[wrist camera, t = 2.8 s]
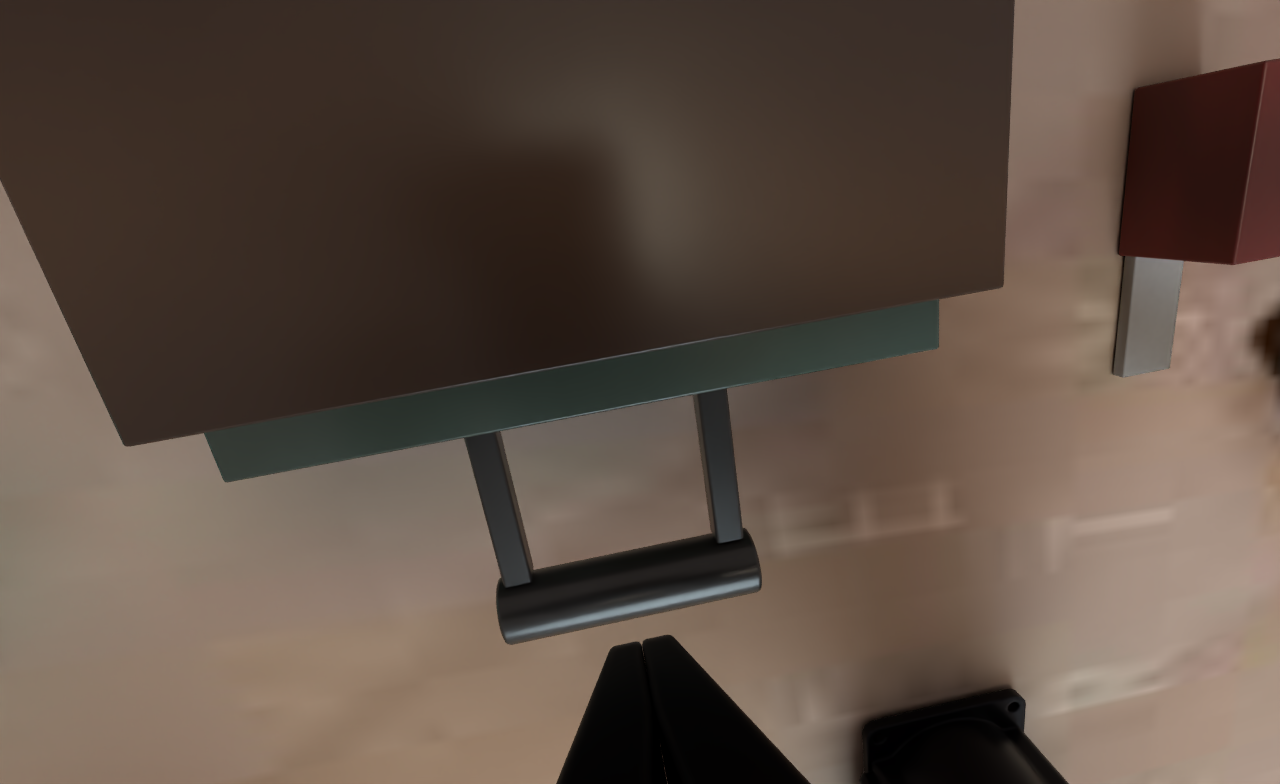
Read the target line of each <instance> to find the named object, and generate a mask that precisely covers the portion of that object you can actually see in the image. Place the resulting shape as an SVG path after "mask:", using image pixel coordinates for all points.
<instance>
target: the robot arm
mask: <svg viewBox="0 0 1280 784" xmlns="http://www.w3.org/2000/svg"><path fill="white" fill-rule="evenodd" d="M642 648H643V650H642ZM643 653H644V655H643ZM644 659H645V660H644ZM646 670H647V671H646ZM1025 707H1026V703H1025V700H1024V699H1023V698H1022V697H1021V696H1020V695H1019V694H1018V693H1017V691H1016V690H1014V689H1005V690H1001V691H996V692H992V693H988V694H984V695H979V696H975V697H971V698H967V699H962V700H958V701H954V702H950V703H945V704H941V705H937V706H932V707H928V708H924V709H920V710H915V711H911V712H907V713H903V714H898V715H894V716H890V717H886V718H881V719H877V720H873V721H871V722H869V723H867V724H866V725H865V726H864V728H863V730H862V743H863V765H864V773H862V775H861V778H860V780H859V784H1069V783H1068V782H1067V781H1066V780H1065V779H1064V778H1063V777H1062V775H1061V774H1060V773H1059V772H1058V771H1057V770H1056V769H1055V768H1054V766H1053V765H1052V764H1051V763H1050V762H1049V761H1048V760H1047V758H1046V757H1045V756H1044V755H1043V754H1042V753H1041V752H1040V750H1039V749H1038V748H1037V747H1036V746H1035V745H1034V744H1033V743H1032V741H1031V740H1030V739H1029V738H1028V737H1027V736H1026V735H1025V733H1024V722H1025ZM661 751H662V752H661ZM662 756H663V757H662ZM663 762H664V763H663ZM664 767H665V768H664ZM665 772H666V773H665ZM666 777H667V779H666ZM667 783H668V784H810V783H809V781H808V780H807V779H806V778H805V777H804V776H803V775H802V774H801V773H800V772H799V771H798V770H797V769H796V768H795V766H794V765H793V764H792V763H791V762H790V761H789V760H788V759H787V758H786V757H785V756H784V755H783V754H782V753H781V752H780V750H779V749H778V748H777V747H776V746H775V745H774V744H773V743H772V742H771V741H770V740H769V739H768V738H767V737H766V735H765V734H764V733H763V732H762V731H761V730H760V729H759V728H758V727H757V726H756V725H755V724H754V723H753V722H752V720H751V719H750V718H749V717H748V716H747V715H746V714H745V713H744V712H743V711H742V710H741V709H740V708H739V707H738V706H737V704H736V703H735V702H734V701H733V700H732V699H731V698H730V697H729V696H728V695H727V694H726V693H725V692H724V691H723V689H722V688H721V687H720V686H719V685H718V684H717V683H716V682H715V681H714V680H713V679H712V678H711V677H710V676H709V674H708V673H707V672H706V671H705V670H704V669H703V668H702V667H701V666H700V665H699V664H698V663H697V662H696V661H695V660H694V658H693V657H692V656H691V655H690V654H689V653H688V652H687V651H686V650H685V649H684V648H683V647H682V646H681V645H680V643H679V642H678V641H677V640H676V639H675V638H674V637H673V636H671V635H664V636H659V637H654V638H650V639H646V640H644V641H643V643H642V645H641V644H640V643H639V642H631V643H627V644H622V645H618V646H614V647H612V648H611V649H610V651H609V653H608V656H607V658H606V661H605V663H604V666H603V668H602V671H601V673H600V676H599V678H598V681H597V683H596V686H595V688H594V691H593V693H592V696H591V698H590V701H589V703H588V706H587V708H586V711H585V713H584V716H583V718H582V721H581V723H580V726H579V728H578V731H577V733H576V736H575V738H574V741H573V743H572V746H571V748H570V751H569V753H568V756H567V758H566V761H565V763H564V766H563V768H562V771H561V773H560V776H559V778H558V781H557V783H556V784H667Z"/></svg>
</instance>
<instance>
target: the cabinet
mask: <svg viewBox="0 0 1280 784" xmlns="http://www.w3.org/2000/svg"><path fill="white" fill-rule="evenodd" d="M1014 4H1015V0H0V180H1V182H2V185H3V187H4V189H5V191H6V193H7V195H8V197H9V200H10V202H11V204H12V206H13V208H14V210H15V212H16V215H17V217H18V219H19V221H20V223H21V225H22V228H23V230H24V232H25V234H26V236H27V238H28V240H29V243H30V245H31V247H32V249H33V251H34V253H35V255H36V258H37V260H38V262H39V264H40V266H41V268H42V270H43V273H44V275H45V277H46V279H47V281H48V283H49V286H50V288H51V290H52V292H53V294H54V296H55V298H56V301H57V303H58V305H59V307H60V309H61V311H62V313H63V316H64V318H65V320H66V322H67V324H68V326H69V329H70V331H71V333H72V335H73V337H74V339H75V341H76V344H77V346H78V348H79V350H80V352H81V354H82V356H83V359H84V361H85V363H86V365H87V367H88V369H89V371H90V374H91V376H92V378H93V380H94V382H95V384H96V387H97V389H98V391H99V393H100V395H101V397H102V399H103V402H104V404H105V406H106V408H107V410H108V412H109V414H110V417H111V419H112V421H113V423H114V425H115V427H116V429H117V432H118V434H119V436H120V438H121V440H122V442H123V444H124V445H125V446H135V445H141V444H146V443H152V442H157V441H163V440H168V439H174V438H179V437H185V436H190V435H196V434H201V433H207V432H212V431H218V430H223V429H229V428H234V427H240V426H245V425H251V424H256V423H262V422H267V421H273V420H278V419H284V418H289V417H295V416H300V415H306V414H311V413H317V412H322V411H328V410H333V409H339V408H344V407H350V406H355V405H361V404H366V403H372V402H377V401H383V400H388V399H394V398H399V397H405V396H410V395H416V394H421V393H427V392H432V391H438V390H443V389H449V388H454V387H460V386H465V385H471V384H476V383H482V382H487V381H493V380H498V379H504V378H509V377H515V376H520V375H526V374H531V373H537V372H542V371H548V370H553V369H559V368H564V367H570V366H575V365H581V364H586V363H592V362H597V361H603V360H608V359H614V358H619V357H625V356H630V355H636V354H641V353H647V352H652V351H658V350H663V349H669V348H674V347H680V346H685V345H691V344H696V343H701V342H707V341H712V340H718V339H723V338H729V337H734V336H740V335H745V334H751V333H756V332H762V331H767V330H773V329H778V328H784V327H789V326H795V325H800V324H806V323H811V322H817V321H822V320H828V319H833V318H839V317H844V316H850V315H855V314H861V313H866V312H872V311H877V310H883V309H888V308H894V307H899V306H905V305H910V304H916V303H921V302H927V301H932V300H938V299H943V298H949V297H954V296H960V295H965V294H971V293H976V292H982V291H987V290H993V289H998V288H1001V287H1003V284H1004V259H1005V233H1006V208H1007V182H1008V157H1009V131H1010V106H1011V80H1012V55H1013V29H1014Z"/></svg>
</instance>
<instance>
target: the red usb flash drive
mask: <svg viewBox="0 0 1280 784" xmlns="http://www.w3.org/2000/svg"><path fill="white" fill-rule="evenodd" d="M1119 255H1121V256H1125V263H1124V273H1123V283H1122V293H1121V303H1120V313H1119V322H1118V332H1117V342H1116V352H1115V362H1114V372H1113V374H1114V375H1116V376H1120V377H1128V376H1133V375H1138V374H1143V373H1149V372H1154V371H1159V370H1164V369H1169V368H1170V361H1171V354H1172V346H1173V338H1174V331H1175V323H1176V316H1177V308H1178V301H1179V293H1180V286H1181V278H1182V270H1183V263H1184V261H1191V262H1203V263H1215V264H1227V265H1236V264H1241V263H1247V262H1252V261H1257V260H1263V259H1268V258H1274V257H1279V256H1280V59H1274V60H1267V61H1262V62H1257V63H1253V64H1248V65H1243V66H1238V67H1234V68H1229V69H1224V70H1219V71H1215V72H1210V73H1205V74H1200V75H1196V76H1191V77H1186V78H1181V79H1177V80H1172V81H1167V82H1162V83H1158V84H1153V85H1148V86H1143V87H1139V88H1137V89H1135V93H1134V103H1133V113H1132V123H1131V134H1130V144H1129V154H1128V164H1127V174H1126V185H1125V195H1124V205H1123V215H1122V225H1121V235H1120V246H1119Z"/></svg>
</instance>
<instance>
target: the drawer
mask: <svg viewBox="0 0 1280 784" xmlns="http://www.w3.org/2000/svg"><path fill="white" fill-rule="evenodd" d="M938 347H939V299H938V300H932V301H927V302H921V303H916V304H910V305H905V306H899V307H894V308H888V309H883V310H877V311H872V312H866V313H861V314H855V315H850V316H844V317H839V318H833V319H828V320H822V321H817V322H811V323H806V324H800V325H795V326H789V327H784V328H778V329H773V330H767V331H762V332H756V333H751V334H745V335H740V336H734V337H729V338H723V339H718V340H712V341H707V342H701V343H696V344H691V345H685V346H680V347H674V348H669V349H663V350H658V351H652V352H647V353H641V354H636V355H630V356H625V357H619V358H614V359H608V360H603V361H597V362H592V363H586V364H581V365H575V366H570V367H564V368H559V369H553V370H548V371H542V372H537V373H531V374H526V375H520V376H515V377H509V378H504V379H498V380H493V381H487V382H482V383H476V384H471V385H465V386H460V387H454V388H449V389H443V390H438V391H432V392H427V393H421V394H416V395H410V396H405V397H399V398H394V399H388V400H383V401H377V402H372V403H366V404H361V405H355V406H350V407H344V408H339V409H333V410H328V411H322V412H317V413H311V414H306V415H300V416H295V417H289V418H284V419H278V420H273V421H267V422H262V423H256V424H251V425H245V426H240V427H234V428H229V429H223V430H218V431H212V432H207V433H204V434H205V437H206V439H207V442H208V444H209V446H210V449H211V451H212V454H213V456H214V458H215V461H216V463H217V466H218V468H219V470H220V473H221V475H222V478H223V480H224V481H225V482H232V481H237V480H243V479H248V478H253V477H259V476H264V475H269V474H275V473H280V472H285V471H291V470H296V469H301V468H306V467H312V466H317V465H322V464H328V463H333V462H338V461H344V460H349V459H354V458H360V457H365V456H370V455H376V454H381V453H386V452H392V451H397V450H402V449H407V448H413V447H418V446H423V445H429V444H434V443H439V442H445V441H450V440H455V439H461V438H464V439H465V443H466V447H467V450H468V454H469V458H470V461H471V465H472V469H473V473H474V476H475V480H476V484H477V488H478V491H479V495H480V499H481V503H482V506H483V510H484V514H485V517H486V521H487V525H488V529H489V532H490V536H491V540H492V544H493V547H494V551H495V555H496V559H497V562H498V566H499V570H500V574H501V578H500V579H499V580H498V584H497V590H496V605H497V615H498V621H499V626H500V630H501V633H502V636H503V638H504V640H505V642H506V643H507V644H510V645H513V644H518V643H523V642H527V641H532V640H537V639H541V638H546V637H551V636H555V635H560V634H565V633H569V632H574V631H578V630H583V629H588V628H592V627H597V626H602V625H606V624H611V623H616V622H620V621H625V620H630V619H634V618H639V617H644V616H648V615H653V614H658V613H662V612H667V611H672V610H676V609H681V608H686V607H690V606H695V605H700V604H704V603H709V602H714V601H718V600H723V599H728V598H732V597H737V596H742V595H746V594H751V593H756V592H758V591H759V590H760V589H761V586H762V575H761V568H760V563H759V558H758V554H757V551H756V548H755V545H754V542H753V540H752V537H751V535H750V534H749V532H748V531H747V529H746V528H743V527H742V518H741V510H740V501H739V492H738V483H737V474H736V466H735V457H734V448H733V439H732V430H731V421H730V413H729V404H728V395H727V388H732V387H737V386H742V385H747V384H753V383H758V382H763V381H769V380H774V379H779V378H785V377H790V376H795V375H801V374H806V373H811V372H817V371H822V370H827V369H833V368H838V367H843V366H848V365H854V364H859V363H864V362H870V361H875V360H880V359H886V358H891V357H896V356H902V355H907V354H912V353H918V352H923V351H928V350H933V349H937V348H938ZM689 395H693V399H694V407H695V414H696V422H697V429H698V437H699V445H700V452H701V460H702V467H703V475H704V482H705V490H706V497H707V505H708V512H709V520H710V527H711V531H712V533H711V534H706V535H701V536H696V537H691V538H686V539H682V540H677V541H672V542H667V543H662V544H657V545H652V546H648V547H643V548H638V549H633V550H628V551H623V552H618V553H614V554H609V555H604V556H599V557H594V558H589V559H585V560H580V561H575V562H570V563H565V564H560V565H555V566H551V567H546V568H541V569H536V570H533V562H532V558H531V554H530V550H529V546H528V542H527V538H526V534H525V530H524V526H523V522H522V518H521V513H520V509H519V505H518V501H517V497H516V493H515V489H514V485H513V481H512V477H511V473H510V469H509V465H508V461H507V457H506V453H505V448H504V444H503V440H502V436H501V432H500V431H503V430H508V429H514V428H519V427H524V426H530V425H535V424H540V423H546V422H551V421H556V420H562V419H567V418H572V417H577V416H583V415H588V414H593V413H599V412H604V411H609V410H615V409H620V408H625V407H631V406H636V405H641V404H647V403H652V402H657V401H662V400H668V399H673V398H678V397H684V396H689Z"/></svg>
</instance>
